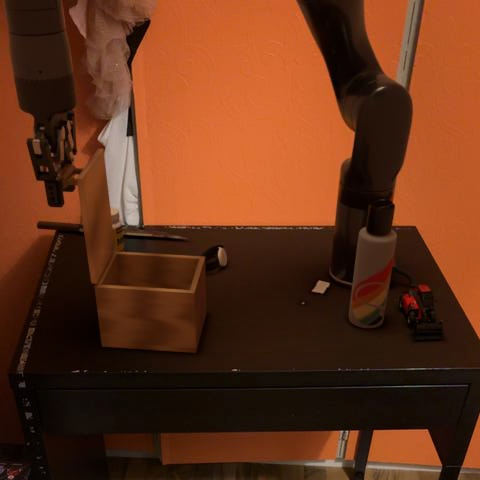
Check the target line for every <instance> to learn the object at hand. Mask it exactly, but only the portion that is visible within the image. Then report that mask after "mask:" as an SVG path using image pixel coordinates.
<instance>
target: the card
mask: <svg viewBox="0 0 480 480" xmlns="http://www.w3.org/2000/svg"><path fill="white" fill-rule="evenodd" d="M330 285H331V283H330V282H327V281H323V280H320V279H318V281H317V282H316V284H315V286H314V288H313V289H312V290H311V292H313V293H320V294H324V293H325V291H326V290H327V288H329V287H330ZM300 304H302V305H304V304H305V302H304V301H302V303H300Z"/></svg>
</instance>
